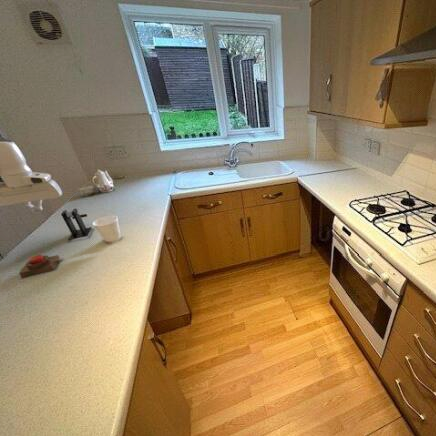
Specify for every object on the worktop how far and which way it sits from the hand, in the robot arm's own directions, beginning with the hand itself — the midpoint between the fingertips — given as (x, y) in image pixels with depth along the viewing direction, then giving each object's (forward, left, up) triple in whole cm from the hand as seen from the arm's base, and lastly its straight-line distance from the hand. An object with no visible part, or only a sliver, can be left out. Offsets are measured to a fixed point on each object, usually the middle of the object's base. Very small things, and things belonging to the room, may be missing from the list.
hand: (38, 210), depth 103 cm
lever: (+6, +14, -11) cm, 19 cm away
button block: (-2, -15, -20) cm, 25 cm away
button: (-2, -15, -16) cm, 22 cm away
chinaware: (+4, +82, -20) cm, 85 cm away
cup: (+22, -4, -20) cm, 30 cm away
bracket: (+6, +10, -20) cm, 23 cm away
